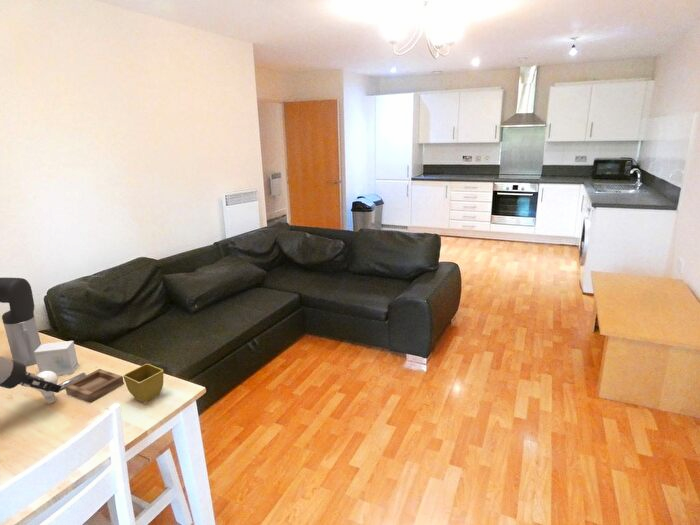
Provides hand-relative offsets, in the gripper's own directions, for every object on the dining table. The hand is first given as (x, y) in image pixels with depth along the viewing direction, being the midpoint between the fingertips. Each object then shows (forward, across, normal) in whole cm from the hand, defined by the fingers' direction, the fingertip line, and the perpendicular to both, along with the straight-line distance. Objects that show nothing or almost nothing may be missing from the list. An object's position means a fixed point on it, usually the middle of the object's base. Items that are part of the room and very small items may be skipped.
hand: (51, 386), depth 133 cm
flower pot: (+14, +26, +6) cm, 30 cm away
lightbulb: (+3, 0, -5) cm, 6 cm away
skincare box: (+12, -17, +4) cm, 21 cm away
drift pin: (+9, -5, +2) cm, 11 cm away
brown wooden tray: (+11, +6, +3) cm, 13 cm away
